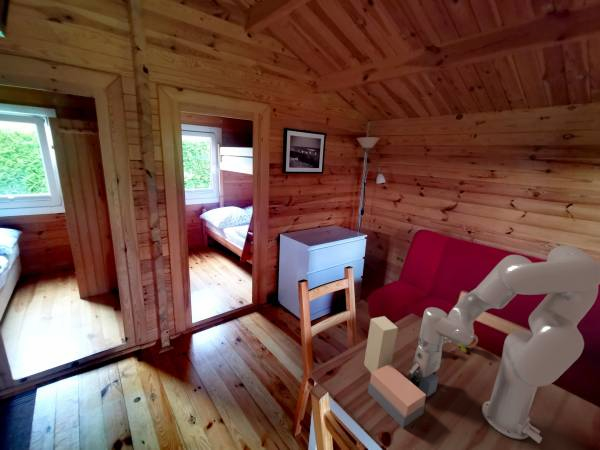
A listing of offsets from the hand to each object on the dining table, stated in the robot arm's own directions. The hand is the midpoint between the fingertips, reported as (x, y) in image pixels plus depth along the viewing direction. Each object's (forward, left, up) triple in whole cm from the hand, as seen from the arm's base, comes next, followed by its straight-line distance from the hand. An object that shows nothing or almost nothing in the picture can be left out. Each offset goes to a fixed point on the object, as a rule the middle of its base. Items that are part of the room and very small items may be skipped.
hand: (421, 382), depth 100 cm
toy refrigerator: (+13, +9, -2) cm, 16 cm away
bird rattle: (+4, -37, -2) cm, 37 cm away
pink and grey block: (0, +15, -1) cm, 15 cm away
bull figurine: (+10, -22, -2) cm, 24 cm away
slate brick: (0, 0, -1) cm, 1 cm away
